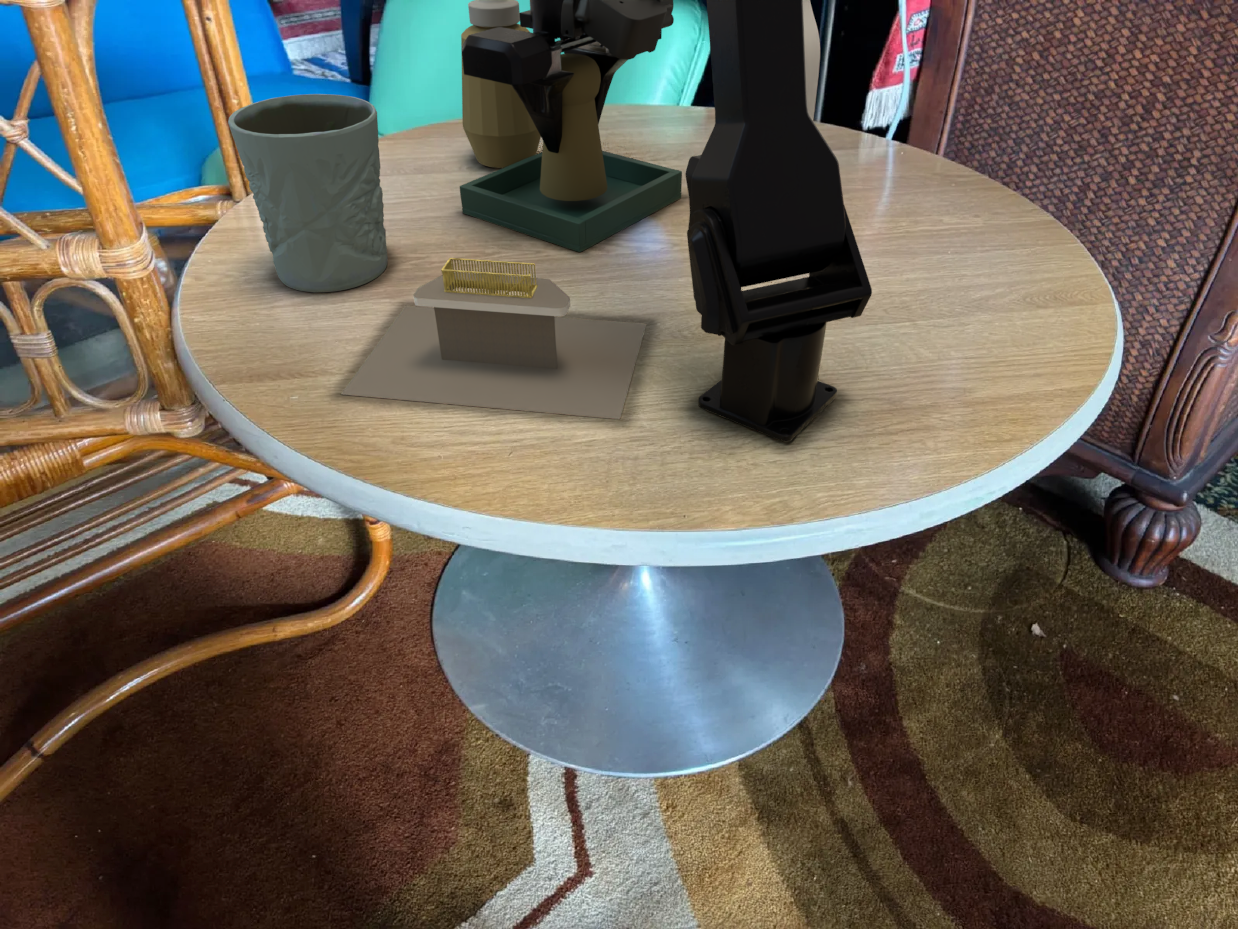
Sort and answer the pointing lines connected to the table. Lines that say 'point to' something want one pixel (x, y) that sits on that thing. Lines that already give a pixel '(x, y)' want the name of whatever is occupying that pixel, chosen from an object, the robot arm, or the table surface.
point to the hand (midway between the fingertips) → (571, 145)
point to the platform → (501, 348)
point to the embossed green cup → (316, 187)
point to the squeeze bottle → (495, 98)
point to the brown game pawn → (576, 138)
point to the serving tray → (571, 223)
